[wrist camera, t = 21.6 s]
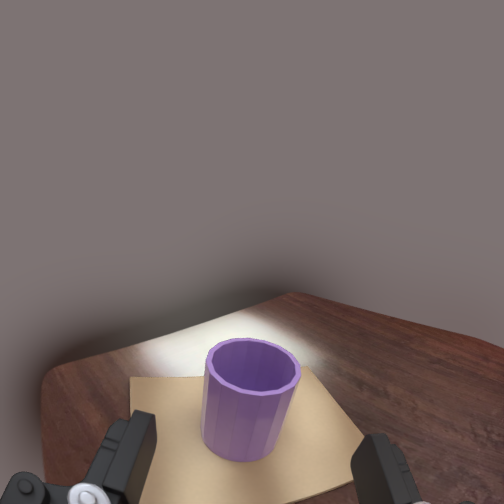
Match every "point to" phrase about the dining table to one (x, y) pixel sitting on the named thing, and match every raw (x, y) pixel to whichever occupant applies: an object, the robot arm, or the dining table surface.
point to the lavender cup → (247, 397)
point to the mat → (244, 473)
